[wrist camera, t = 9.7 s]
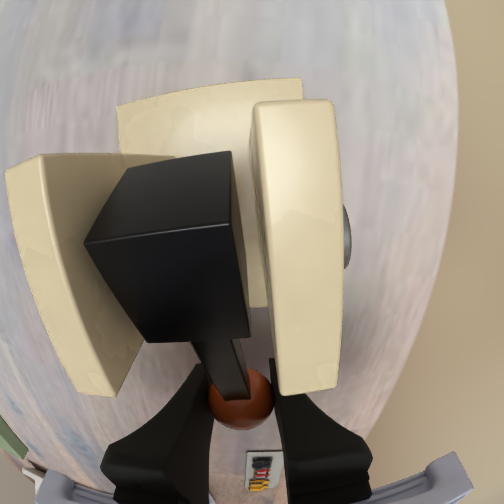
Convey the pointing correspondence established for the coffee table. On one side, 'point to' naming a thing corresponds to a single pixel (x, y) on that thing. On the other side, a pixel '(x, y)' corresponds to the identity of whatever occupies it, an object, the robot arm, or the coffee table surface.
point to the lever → (185, 272)
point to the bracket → (252, 217)
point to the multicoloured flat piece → (263, 470)
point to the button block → (11, 441)
